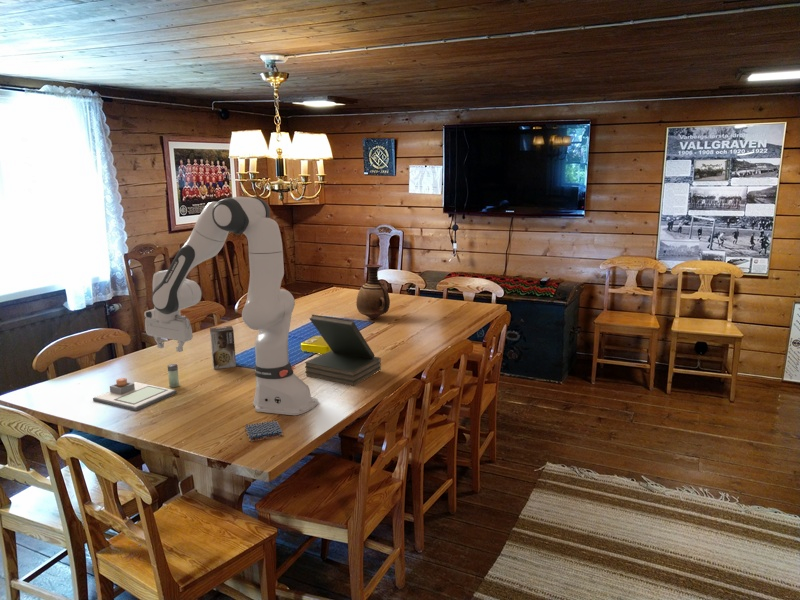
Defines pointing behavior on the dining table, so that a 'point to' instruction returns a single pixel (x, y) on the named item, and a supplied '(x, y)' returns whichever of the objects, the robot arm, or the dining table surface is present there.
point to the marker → (173, 375)
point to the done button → (121, 382)
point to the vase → (373, 295)
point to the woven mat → (263, 430)
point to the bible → (342, 353)
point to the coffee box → (223, 347)
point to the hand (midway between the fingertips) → (170, 349)
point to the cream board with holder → (134, 395)
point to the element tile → (315, 345)
